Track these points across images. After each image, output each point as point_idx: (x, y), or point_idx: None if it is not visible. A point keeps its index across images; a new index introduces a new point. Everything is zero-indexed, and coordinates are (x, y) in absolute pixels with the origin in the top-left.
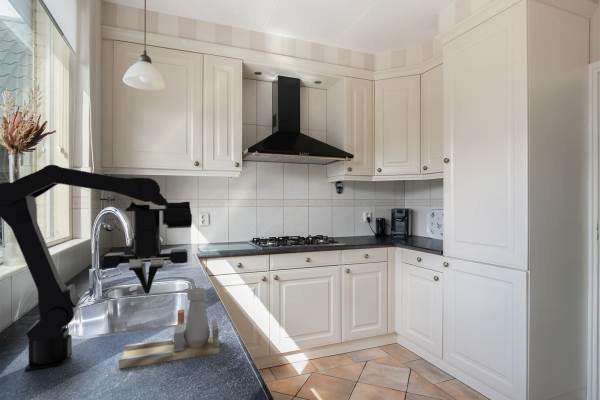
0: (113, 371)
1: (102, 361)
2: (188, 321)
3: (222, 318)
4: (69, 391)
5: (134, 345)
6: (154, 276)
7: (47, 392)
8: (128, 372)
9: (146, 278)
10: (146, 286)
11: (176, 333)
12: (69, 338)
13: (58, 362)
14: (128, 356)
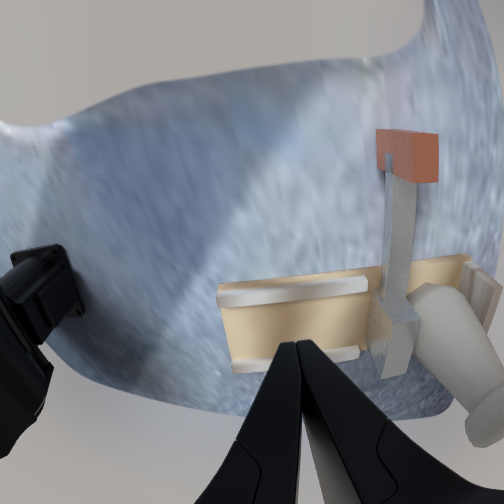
0: (225, 364)
1: (172, 316)
2: (432, 372)
3: (492, 79)
4: (175, 400)
5: (246, 305)
6: (401, 449)
7: (139, 392)
8: (262, 373)
9: (299, 459)
10: (301, 434)
11: (387, 376)
12: (51, 311)
13: (76, 311)
14: (244, 340)
